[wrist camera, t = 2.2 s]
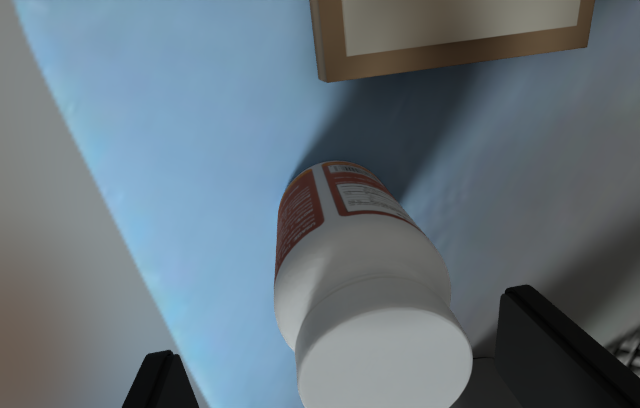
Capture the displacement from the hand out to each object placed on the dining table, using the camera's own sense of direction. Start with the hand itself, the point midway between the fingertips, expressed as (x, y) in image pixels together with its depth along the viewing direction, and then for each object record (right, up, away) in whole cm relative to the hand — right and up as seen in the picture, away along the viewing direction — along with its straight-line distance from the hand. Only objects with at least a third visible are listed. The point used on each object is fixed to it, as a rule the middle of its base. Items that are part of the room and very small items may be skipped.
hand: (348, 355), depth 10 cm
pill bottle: (0, +4, +9) cm, 10 cm away
